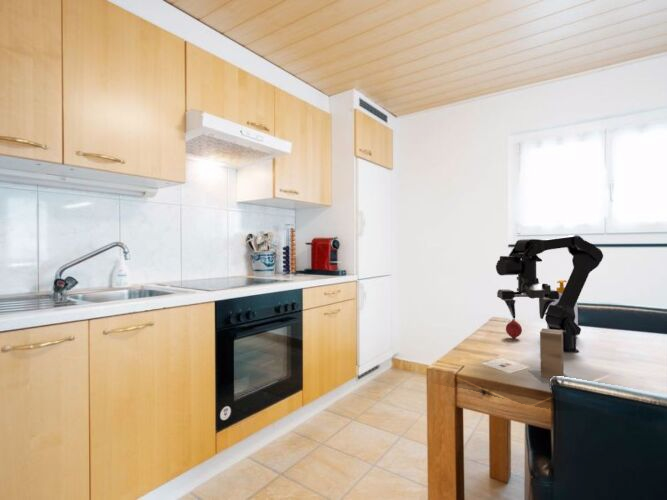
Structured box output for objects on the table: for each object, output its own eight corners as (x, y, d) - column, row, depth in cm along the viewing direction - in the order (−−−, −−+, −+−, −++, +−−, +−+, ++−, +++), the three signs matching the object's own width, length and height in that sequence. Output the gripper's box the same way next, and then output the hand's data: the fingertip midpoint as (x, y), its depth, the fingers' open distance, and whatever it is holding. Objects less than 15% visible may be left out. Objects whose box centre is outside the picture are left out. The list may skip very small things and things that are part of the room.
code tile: (501, 359, 115) (501, 357, 115) (530, 368, 106) (530, 366, 106) (481, 364, 110) (481, 363, 110) (509, 374, 101) (509, 373, 101)
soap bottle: (579, 336, 139) (578, 280, 139) (571, 339, 135) (570, 281, 135) (554, 332, 147) (553, 279, 147) (547, 335, 143) (546, 280, 143)
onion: (524, 340, 135) (523, 320, 135) (508, 340, 137) (508, 320, 137) (519, 336, 141) (518, 317, 141) (504, 336, 142) (503, 317, 142)
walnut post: (543, 371, 101) (542, 328, 101) (563, 375, 98) (562, 330, 98) (540, 377, 97) (540, 331, 97) (561, 381, 94) (560, 334, 94)
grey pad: (560, 372, 102) (560, 370, 102) (578, 384, 93) (578, 383, 93) (528, 371, 103) (528, 370, 103) (542, 384, 94) (542, 382, 94)
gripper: (508, 276, 114) (508, 323, 114) (568, 276, 112) (568, 324, 112) (496, 274, 125) (496, 316, 125) (550, 273, 123) (551, 316, 123)
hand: (527, 318), depth 121 cm, fingers open, 9 cm apart
